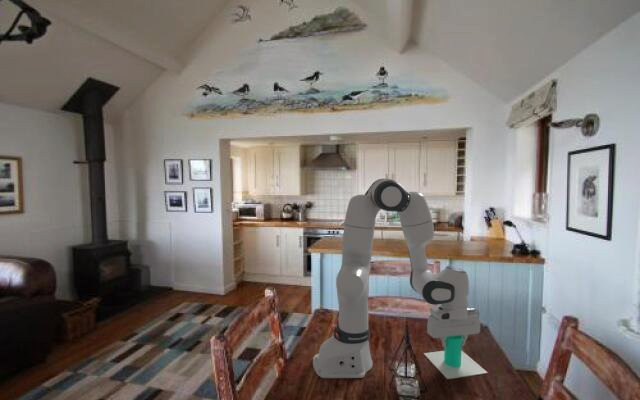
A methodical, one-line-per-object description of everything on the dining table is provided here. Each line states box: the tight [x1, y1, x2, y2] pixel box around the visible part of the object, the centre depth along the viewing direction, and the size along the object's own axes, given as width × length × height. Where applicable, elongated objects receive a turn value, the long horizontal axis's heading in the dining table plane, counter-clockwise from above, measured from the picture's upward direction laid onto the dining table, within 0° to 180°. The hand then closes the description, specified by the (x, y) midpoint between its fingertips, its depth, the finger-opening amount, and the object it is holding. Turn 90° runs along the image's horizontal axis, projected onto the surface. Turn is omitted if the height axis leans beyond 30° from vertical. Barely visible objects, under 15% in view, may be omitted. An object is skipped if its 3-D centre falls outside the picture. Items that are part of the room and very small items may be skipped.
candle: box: [443, 335, 462, 367], centre depth 118 cm, size 6×6×12 cm
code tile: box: [423, 349, 489, 380], centre depth 119 cm, size 16×16×1 cm
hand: (453, 345), depth 118 cm, fingers open, 5 cm apart
